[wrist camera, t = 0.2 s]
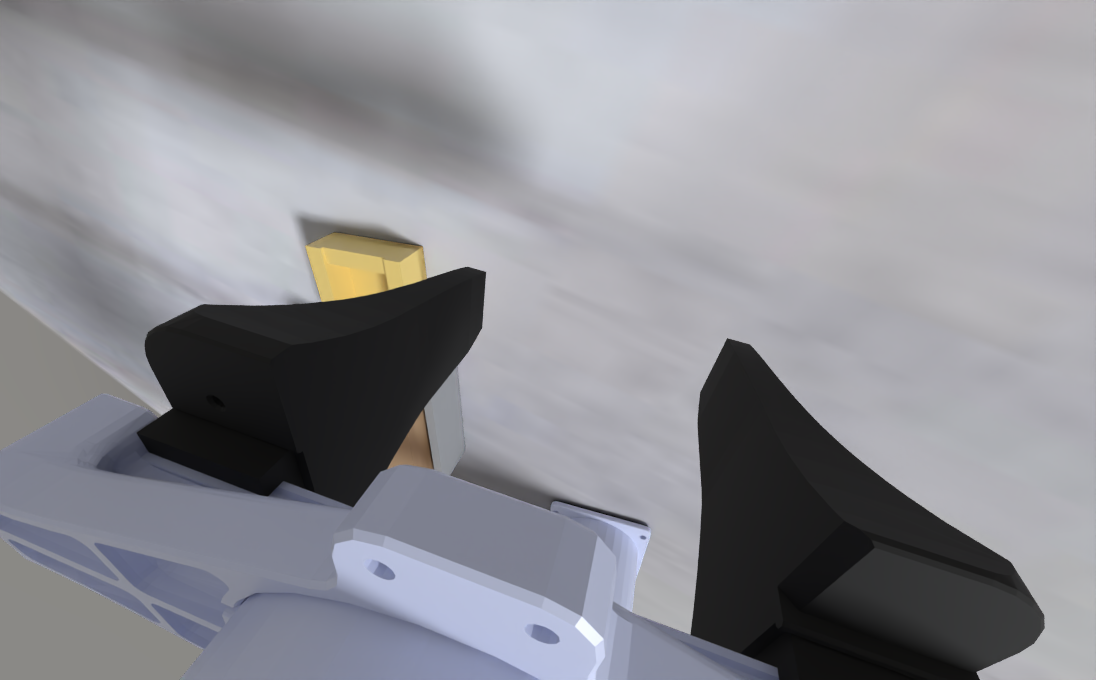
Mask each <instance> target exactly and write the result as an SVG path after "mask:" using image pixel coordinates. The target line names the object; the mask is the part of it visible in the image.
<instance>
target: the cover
mask: <svg viewBox="0 0 1096 680" xmlns="http://www.w3.org/2000/svg"><path fill="white" fill-rule="evenodd" d="M398 465H412V466H418V467H423V468H429V469H433V470H434V465H433V458H432V452H431V446H430V440H429V434H428V428H427V422H426V416H425V410H424V409H423V410H422V412H421V413H420V415H419V417H418V418H417V420H416V421H415V423H414V425H413V426H412V428H411V429H410V431H409V433H408V434H407V436H406V438H405V439H404V441H403V443H402V444H401V446H400V448H399V449H398V451H397V453H396V454H395V456H394V458H393V460H392V461H391V463H390V465H389V467H388V468H387V469H390V468H392V467H395V466H398Z"/></svg>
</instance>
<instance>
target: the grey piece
mask: <svg viewBox="0 0 1096 680" xmlns="http://www.w3.org/2000/svg"><path fill="white" fill-rule="evenodd" d="M424 410H425V416H426V422H427V428H428V434H429V440H430V446H431V452H432V458H433V465H434V470H436V471H439V472H442V473H445V474H448V475H451V473H452V472H453V470H454V468H455V466H456V465H457V463H458V461H459V460H460V458H461V456H462V454H463V453H464V451H465V442H464V432H463V421H462V411H461V401H460V390H459V380H458V369H457V367H456V368H455V370H454V371H453V372H452V373H451V375H450V376H449V377H448V378H447V379H446V381H445V382H444V383H443V384H442V386H441V387H440V388H439V389H438V391H437V392H436V393H435V394H434V396H433V397H432V398H431V399H430V401H429V402H428V404H427V405H426V406H425V408H424Z"/></svg>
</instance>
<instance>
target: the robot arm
mask: <svg viewBox="0 0 1096 680" xmlns="http://www.w3.org/2000/svg"><path fill="white" fill-rule="evenodd" d="M485 279H486V272H484V271H481V270H477V269H473V268H470V267H464V268H460V269H456V270H453V271H450V272H446V273H443V274H440V275H437V276H434V277H431V278H428V279H425V280H422V281H419V282H416V283H412V284H409V285H405V286H402V287H398V288H394V289H391V290H387V291H384V292H379V293H375V294H370V295H366V296H360V297H355V298H349V299H343V300H334V301H326V302H317V303H308V304H293V305H268V306H245V305H209V304H203V305H200V306H198V307H196V308H194V309H192V310H190V311H188V312H185V313H183V314H181V315H179V316H177V317H175V318H173V319H171V320H169V321H167V322H165V323H163V324H161V325H159V326H157V327H155V328H154V329H152V330H151V331H149V332H148V334H147V337H146V340H145V352H146V357H147V359H148V362H149V364H150V366H151V368H152V370H153V372H154V374H155V376H156V378H157V380H158V382H159V383H160V385H161V387H162V389H163V391H164V393H165V395H166V397H167V398H168V400H169V402H170V404H171V406H172V408H173V409H171V410H170V411H168V412H167V413H165V414H164V415H162V416H161V417H159V418H158V417H157V416H156V415H155V414H153V413H152V412H151V411H150V410H148V409H146V408H144V407H142V406H139V405H137V404H134V403H131V402H128V401H126V400H123V399H120V398H117V397H115V396H112V395H109V394H100V395H98V396H96V397H95V398H93V399H91V400H89V401H87V402H86V403H84V404H82V405H80V406H79V407H77V408H75V409H73V410H71V411H69V412H68V413H66V414H64V415H62V416H61V417H59V418H57V419H56V420H53V421H52V422H50V423H48V424H46V425H44V426H43V427H41V428H39V429H37V430H36V431H34V432H32V433H30V434H29V435H27V436H25V437H23V438H22V439H19V440H18V441H16V442H14V443H12V444H11V445H9V446H7V447H5V448H4V449H2V450H0V537H1V538H2V539H3V540H4V541H5V542H6V543H8V544H9V545H10V546H11V547H12V548H13V549H15V550H16V551H17V552H18V553H19V554H21V555H22V556H23V557H24V558H25V559H27V560H29V561H31V562H34V563H36V564H38V565H40V566H42V567H44V568H46V569H48V570H51V571H53V572H55V573H57V574H59V575H61V576H63V577H65V578H67V579H69V580H71V581H73V582H75V583H77V584H79V585H81V586H83V587H85V588H87V589H89V590H91V591H93V592H95V593H97V594H99V595H101V596H103V597H105V598H107V599H109V600H111V601H113V602H114V603H117V604H118V605H120V606H122V607H124V608H126V609H128V610H130V611H131V612H133V613H135V614H137V615H139V616H141V617H143V618H144V619H146V620H149V621H150V622H152V623H154V624H156V625H157V626H160V627H161V628H163V629H165V630H167V631H169V632H171V633H173V634H174V635H176V636H178V637H180V638H182V639H184V640H185V641H187V642H189V643H191V644H193V645H195V646H196V647H198V648H200V649H202V650H203V652H202V653H201V654H200V655H199V657H198V658H197V659H196V660H195V661H194V663H193V664H192V665H191V666H190V667H189V669H188V670H187V671H186V672H185V673H184V675H183V676H182V677H181V678H180V679H179V680H980V679H979V677H978V675H977V673H976V672H977V671H980V670H982V669H984V668H986V667H988V666H991V665H993V664H995V663H997V662H1000V661H1002V660H1004V659H1006V658H1008V657H1011V656H1013V655H1015V654H1017V653H1020V652H1021V651H1023V650H1024V649H1026V648H1028V647H1029V646H1031V645H1032V644H1034V643H1035V641H1036V640H1037V639H1038V637H1039V636H1040V634H1041V633H1042V631H1043V630H1044V614H1043V613H1042V611H1041V609H1040V608H1039V606H1038V605H1037V603H1036V601H1035V600H1034V598H1033V597H1032V595H1031V593H1030V592H1029V590H1028V589H1027V587H1026V586H1025V584H1024V582H1023V581H1022V579H1021V578H1020V576H1019V574H1018V573H1017V571H1016V570H1015V568H1014V566H1013V565H1012V563H1011V562H1010V561H1008V560H1007V559H1005V558H1003V557H1002V556H1000V555H998V554H997V553H995V552H994V551H992V550H990V549H989V548H987V547H985V546H984V545H982V544H980V543H979V542H977V541H975V540H974V539H972V538H970V537H969V536H967V535H966V534H964V533H962V532H961V531H959V530H957V529H956V528H954V527H952V526H951V525H949V524H947V523H946V522H944V521H943V520H941V519H940V518H938V517H937V516H935V515H934V514H932V513H931V512H929V511H928V510H926V509H925V508H923V507H922V506H921V505H919V504H918V503H916V502H915V501H913V500H912V499H910V498H909V497H907V496H906V495H905V494H903V493H902V492H900V491H899V490H898V489H896V488H895V487H894V486H892V485H891V484H889V483H888V482H887V481H885V480H884V479H883V478H882V477H880V476H879V475H878V474H877V473H875V472H874V471H873V470H871V469H870V468H869V467H868V466H866V465H865V464H864V463H862V462H861V461H860V460H859V459H858V458H856V457H855V456H854V455H853V454H852V453H850V452H849V451H848V450H847V449H846V448H845V447H844V446H843V445H841V444H840V443H839V442H838V441H837V440H836V439H835V438H834V437H833V436H832V435H830V434H829V433H828V432H827V431H826V430H825V429H824V428H823V427H822V426H821V425H820V424H819V423H818V422H817V421H816V420H815V419H814V418H813V417H812V416H811V415H810V414H809V413H808V412H807V411H806V409H805V408H804V407H803V406H802V405H801V404H800V403H799V402H798V401H797V400H796V399H795V397H794V396H793V395H792V394H791V393H790V392H789V391H788V389H787V388H786V387H785V386H784V385H783V383H782V382H781V381H780V380H779V379H778V377H777V376H776V375H775V374H774V372H773V371H772V370H771V369H770V368H769V366H768V365H767V364H766V363H765V361H764V360H763V359H762V358H761V356H760V355H759V354H758V353H757V352H756V351H755V349H754V348H753V347H752V346H751V345H750V344H746V343H742V342H739V341H735V340H731V339H728V338H727V340H726V342H725V344H724V346H723V348H722V350H721V352H720V354H719V356H718V358H717V360H716V362H715V364H714V366H713V368H712V370H711V372H710V374H709V376H708V378H707V380H706V382H705V384H704V386H703V388H702V390H701V392H700V401H699V411H698V439H699V455H700V471H701V486H702V512H701V530H700V545H699V558H698V571H697V581H696V591H695V601H694V611H693V619H692V627H691V635H689V634H687V633H684V632H681V631H679V630H676V629H673V628H671V627H668V626H665V625H663V624H660V623H657V622H655V621H652V620H650V619H647V618H644V617H642V616H639V615H636V614H634V613H632V608H633V599H634V589H635V580H636V577H637V574H638V571H639V568H640V565H641V563H642V560H643V557H644V554H645V551H646V548H647V545H648V542H649V539H650V536H651V529H650V528H649V527H647V526H644V525H640V524H637V523H633V522H630V521H626V520H622V519H619V518H615V517H612V516H608V515H605V514H601V513H597V512H594V511H590V510H587V509H583V508H580V507H576V506H572V505H569V504H565V503H562V502H558V501H554V502H552V504H551V508H550V510H547V509H544V508H541V507H538V506H535V505H533V504H530V503H527V502H524V501H521V500H518V499H516V498H513V497H510V496H507V495H504V494H501V493H499V492H496V491H493V490H490V489H487V488H484V487H482V486H479V485H476V484H473V483H470V482H467V481H465V480H462V479H459V478H456V477H453V476H450V475H448V474H445V473H442V472H439V471H436V470H433V469H429V468H423V467H418V466H412V465H398V466H395V467H392V468H390V469H387V468H388V467H389V465H390V463H391V461H392V460H393V458H394V456H395V454H396V453H397V451H398V449H399V448H400V446H401V444H402V443H403V441H404V439H405V438H406V436H407V434H408V433H409V431H410V429H411V428H412V426H413V425H414V423H415V421H416V420H417V418H418V417H419V415H420V413H421V412H422V410H423V409H424V408H425V406H426V405H427V404H428V402H429V401H430V399H431V398H432V397H433V396H434V394H435V393H436V392H437V391H438V389H439V388H440V387H441V386H442V384H443V383H444V382H445V381H446V379H447V378H448V377H449V376H450V375H451V373H452V372H453V371H454V370H455V368H456V367H457V366H458V364H459V363H460V362H461V361H462V359H463V358H464V357H465V355H466V354H467V353H468V352H469V350H470V348H471V346H472V345H473V343H474V341H475V340H476V338H477V336H478V334H479V332H480V331H481V329H482V322H483V307H484V293H485Z"/></svg>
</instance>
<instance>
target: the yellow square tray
mask: <svg viewBox="0 0 1096 680" xmlns="http://www.w3.org/2000/svg"><path fill="white" fill-rule="evenodd" d="M305 247H306V250H307V254H308V257H309V260H310V264H311V267H312V271H313V274H314V277H315V281H316V284H317V287H318V291H319V294H320V298H321V301H322V302H326V301H334V300H343V299H349V298H355V297H360V296H366V295H370V294H375V293H379V292H384V291H387V290H391V289H394V288H398V287H402V286H405V285H409V284H412V283H416V282H419V281H422V280H425V279H427V276H426V269H425V261H424V253H423V247H422V246H416V245H410V244H404V243H398V242H392V241H386V240H379V239H373V238H367V237H361V236H355V235H349V234H343V233H337V232H333V233H331V234H329V235H327V236H325V237H323V238H321V239H319V240H317V241H314V242H312V243H310V244H308V245H306V246H305Z"/></svg>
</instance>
